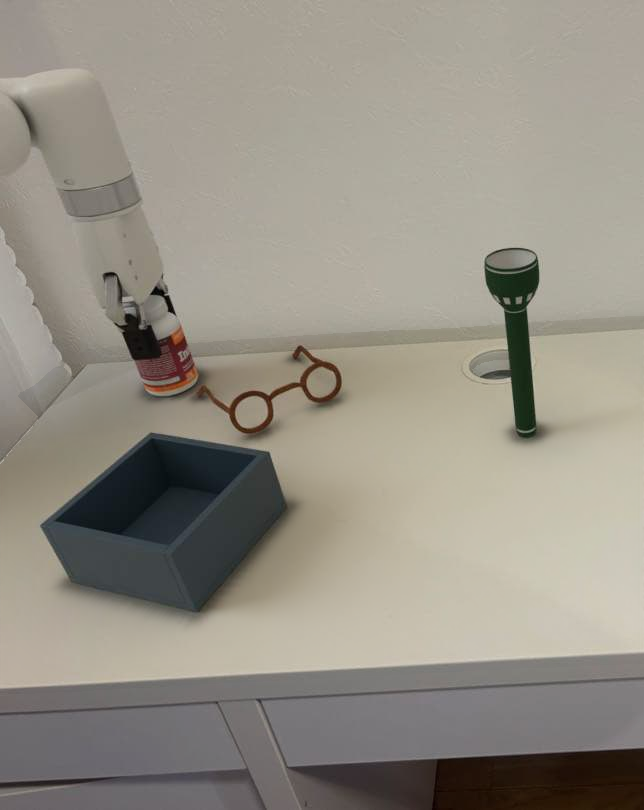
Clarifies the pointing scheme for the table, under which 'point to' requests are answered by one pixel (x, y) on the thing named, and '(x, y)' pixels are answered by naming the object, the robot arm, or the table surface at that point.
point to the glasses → (277, 392)
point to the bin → (167, 519)
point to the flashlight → (516, 323)
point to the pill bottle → (166, 352)
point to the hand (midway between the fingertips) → (156, 340)
